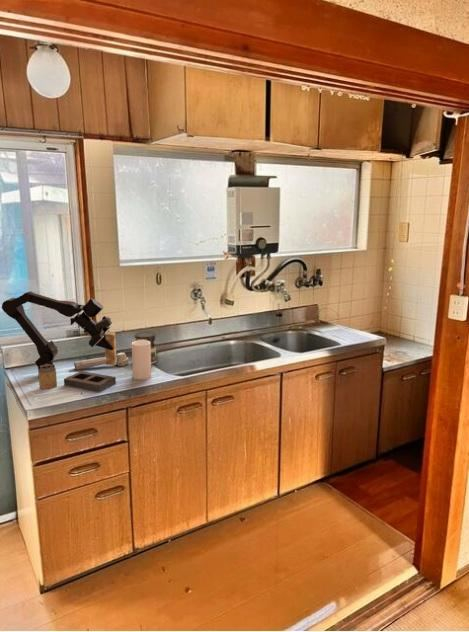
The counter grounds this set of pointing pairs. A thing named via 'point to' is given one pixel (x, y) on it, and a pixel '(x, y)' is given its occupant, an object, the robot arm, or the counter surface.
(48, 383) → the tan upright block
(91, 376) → the rail
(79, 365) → the wooden mallet
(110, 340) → the wood peg
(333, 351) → the counter surface
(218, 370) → the counter surface
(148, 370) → the cup
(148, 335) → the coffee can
